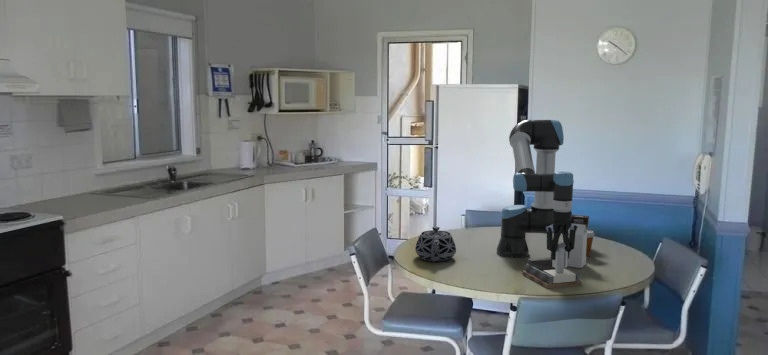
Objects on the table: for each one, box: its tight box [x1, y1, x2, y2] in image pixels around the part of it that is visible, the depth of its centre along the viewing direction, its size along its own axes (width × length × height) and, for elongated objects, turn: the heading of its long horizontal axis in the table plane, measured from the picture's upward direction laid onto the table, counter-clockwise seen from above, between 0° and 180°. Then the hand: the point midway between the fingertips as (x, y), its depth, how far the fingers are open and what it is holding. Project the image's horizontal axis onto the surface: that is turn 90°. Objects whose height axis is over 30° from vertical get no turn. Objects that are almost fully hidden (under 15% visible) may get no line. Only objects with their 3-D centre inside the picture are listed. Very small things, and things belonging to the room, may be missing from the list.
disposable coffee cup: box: [586, 229, 595, 258], centre depth 299 cm, size 10×10×12 cm
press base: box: [521, 256, 583, 289], centre depth 261 cm, size 20×16×6 cm
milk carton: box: [567, 224, 587, 269], centre depth 282 cm, size 7×7×19 cm
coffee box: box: [571, 214, 590, 230], centre depth 315 cm, size 9×6×16 cm
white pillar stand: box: [543, 241, 576, 283], centre depth 255 cm, size 8×10×15 cm
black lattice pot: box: [414, 226, 457, 262], centre depth 294 cm, size 19×31×15 cm, turn 177°
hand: (559, 266), depth 255 cm, fingers open, 4 cm apart
